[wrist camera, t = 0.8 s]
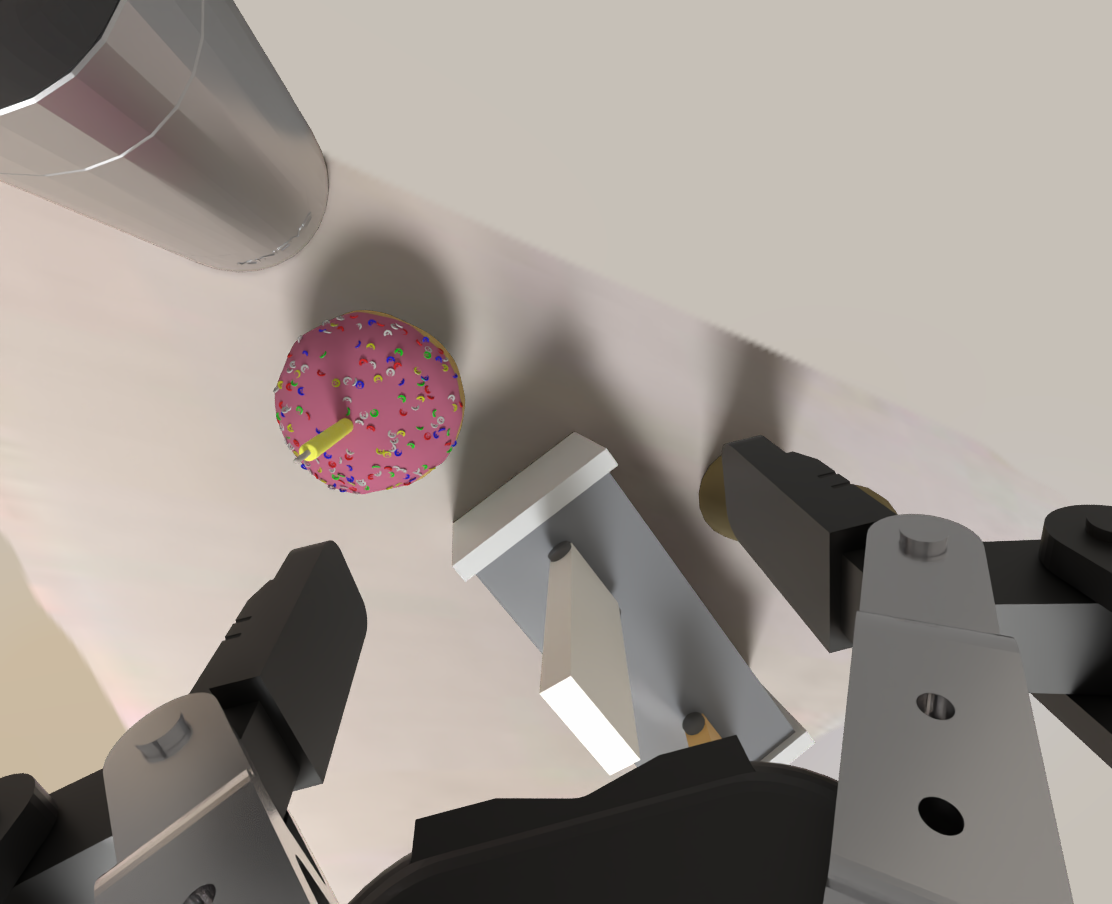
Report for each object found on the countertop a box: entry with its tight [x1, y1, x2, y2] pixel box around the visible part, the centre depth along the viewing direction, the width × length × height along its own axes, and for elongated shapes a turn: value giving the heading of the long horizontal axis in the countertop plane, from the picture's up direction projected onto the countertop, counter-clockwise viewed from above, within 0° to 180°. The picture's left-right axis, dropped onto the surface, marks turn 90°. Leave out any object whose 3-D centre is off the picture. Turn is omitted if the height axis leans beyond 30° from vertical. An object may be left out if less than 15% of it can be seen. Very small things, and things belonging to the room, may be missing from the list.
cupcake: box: [273, 310, 465, 495], centre depth 24 cm, size 9×8×12 cm
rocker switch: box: [540, 541, 640, 775], centre depth 22 cm, size 4×1×9 cm, turn 37°
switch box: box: [452, 432, 815, 767], centre depth 31 cm, size 21×9×7 cm, turn 37°
